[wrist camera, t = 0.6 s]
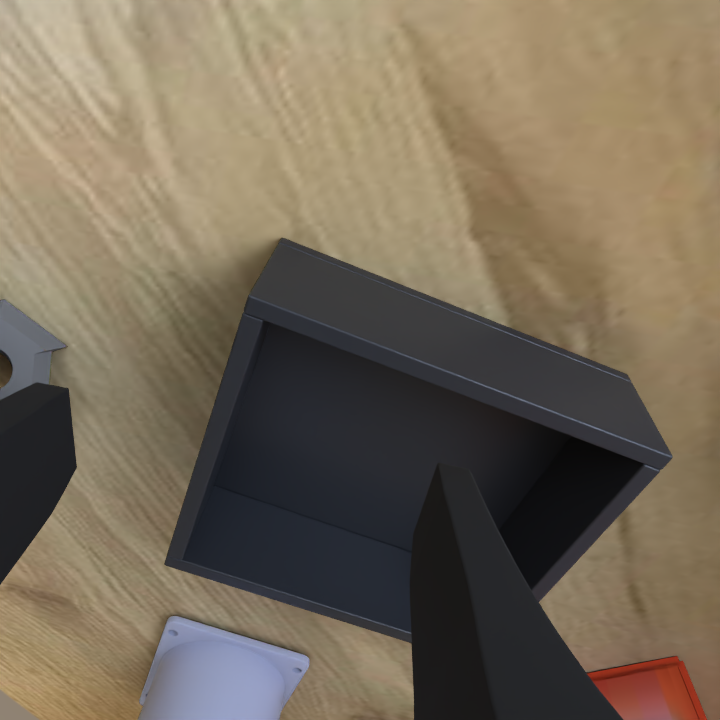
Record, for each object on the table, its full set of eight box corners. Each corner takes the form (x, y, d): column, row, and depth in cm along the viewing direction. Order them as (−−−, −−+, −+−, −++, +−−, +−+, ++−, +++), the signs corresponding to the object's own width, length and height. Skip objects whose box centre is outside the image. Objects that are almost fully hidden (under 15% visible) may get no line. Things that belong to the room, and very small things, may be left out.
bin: (472, 572, 27) (480, 665, 24) (201, 481, 26) (163, 565, 22) (628, 374, 21) (674, 457, 17) (281, 236, 19) (248, 294, 16)
